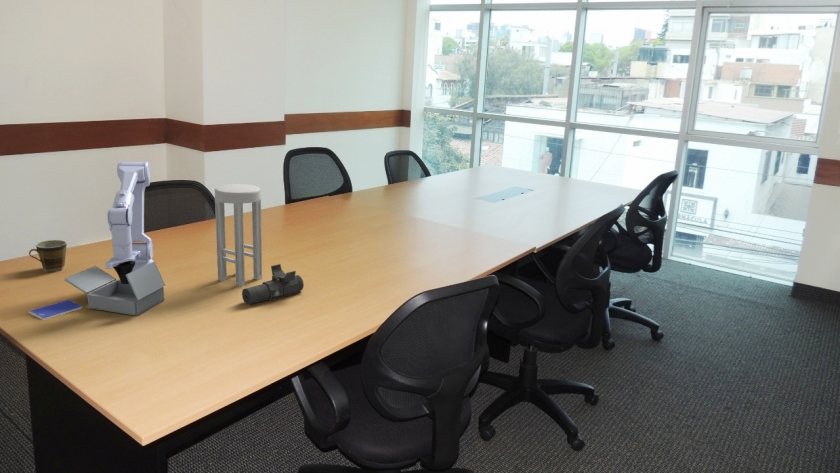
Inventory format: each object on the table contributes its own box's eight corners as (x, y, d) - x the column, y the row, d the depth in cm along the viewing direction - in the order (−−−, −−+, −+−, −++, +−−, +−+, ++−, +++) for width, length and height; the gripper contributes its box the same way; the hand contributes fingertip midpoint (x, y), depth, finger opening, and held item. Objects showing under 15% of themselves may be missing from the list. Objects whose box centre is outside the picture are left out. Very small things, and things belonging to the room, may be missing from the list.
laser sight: (239, 300, 223) (238, 273, 220) (293, 286, 239) (293, 260, 236) (254, 309, 217) (253, 281, 214) (309, 294, 232) (309, 267, 230)
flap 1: (116, 278, 222) (115, 280, 222) (95, 265, 222) (94, 266, 223) (86, 292, 209) (86, 294, 209) (64, 278, 209) (64, 279, 209)
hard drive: (42, 316, 199) (81, 305, 210) (28, 310, 204) (67, 299, 214) (43, 321, 200) (82, 309, 210) (29, 314, 204) (68, 303, 214)
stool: (240, 289, 232) (237, 194, 223) (209, 280, 240) (205, 188, 230) (270, 278, 245) (268, 187, 236) (240, 269, 253) (237, 181, 243)
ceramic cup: (61, 263, 249) (58, 238, 247) (74, 269, 244) (71, 243, 241) (25, 271, 239) (22, 245, 237) (38, 277, 234) (35, 251, 231)
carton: (119, 292, 224) (118, 279, 222) (165, 299, 220) (164, 286, 218) (87, 308, 209) (86, 294, 208) (136, 316, 205) (135, 302, 204)
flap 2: (153, 261, 216) (154, 261, 216) (164, 285, 218) (165, 285, 217) (125, 274, 203) (126, 274, 203) (137, 300, 205) (138, 299, 204)
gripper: (117, 251, 201) (120, 292, 205) (147, 239, 215) (149, 277, 218) (98, 248, 203) (101, 289, 206) (128, 236, 216) (131, 275, 220)
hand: (125, 283), depth 213 cm, fingers closed
